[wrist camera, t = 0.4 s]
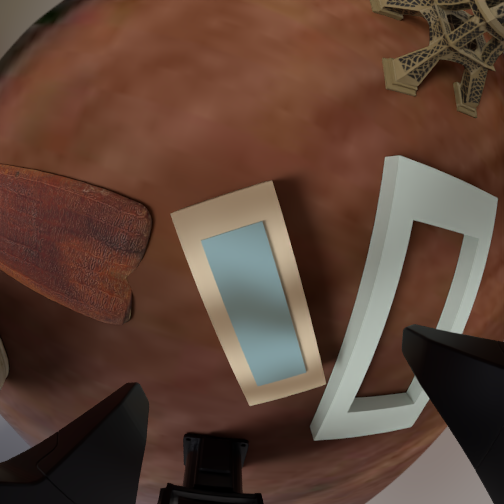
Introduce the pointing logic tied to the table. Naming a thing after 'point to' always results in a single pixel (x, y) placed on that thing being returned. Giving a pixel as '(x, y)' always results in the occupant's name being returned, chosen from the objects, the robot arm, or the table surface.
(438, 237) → the table surface
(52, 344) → the table surface
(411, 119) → the table surface
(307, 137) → the table surface
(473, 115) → the eiffel tower
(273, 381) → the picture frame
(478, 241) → the pale grey open frame
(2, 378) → the jug
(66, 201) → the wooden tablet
